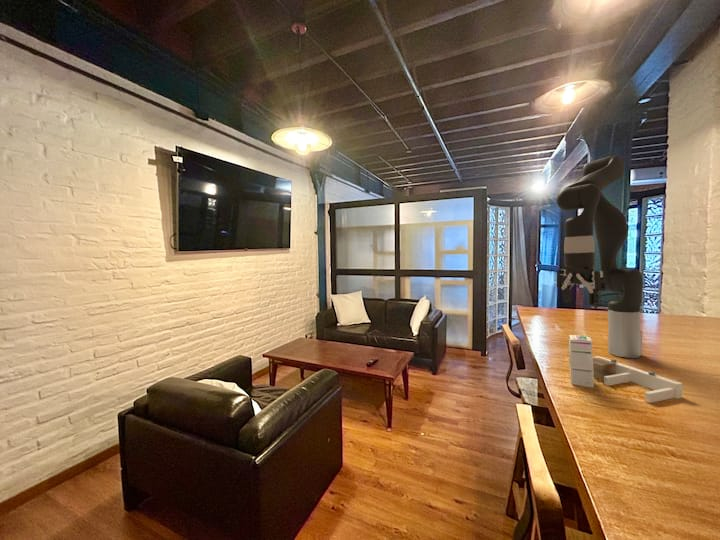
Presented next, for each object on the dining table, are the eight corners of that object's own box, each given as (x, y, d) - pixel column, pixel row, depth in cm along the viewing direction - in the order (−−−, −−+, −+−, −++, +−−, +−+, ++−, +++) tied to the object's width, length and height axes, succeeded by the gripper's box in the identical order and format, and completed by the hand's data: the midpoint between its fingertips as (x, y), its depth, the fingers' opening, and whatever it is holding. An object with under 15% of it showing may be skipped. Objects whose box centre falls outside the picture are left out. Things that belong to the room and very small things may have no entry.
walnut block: (598, 371, 100) (598, 357, 100) (615, 378, 94) (615, 363, 94) (585, 374, 99) (585, 359, 98) (601, 380, 93) (601, 365, 93)
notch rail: (598, 367, 103) (598, 353, 103) (682, 397, 81) (682, 380, 81) (572, 371, 101) (572, 357, 101) (651, 403, 79) (651, 386, 79)
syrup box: (594, 388, 89) (593, 340, 88) (570, 384, 92) (569, 338, 91) (592, 380, 94) (591, 335, 93) (569, 377, 97) (568, 334, 96)
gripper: (612, 250, 85) (613, 306, 85) (568, 251, 99) (569, 299, 99) (591, 251, 83) (592, 308, 84) (549, 252, 97) (550, 301, 98)
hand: (579, 303), depth 92 cm, fingers open, 8 cm apart
